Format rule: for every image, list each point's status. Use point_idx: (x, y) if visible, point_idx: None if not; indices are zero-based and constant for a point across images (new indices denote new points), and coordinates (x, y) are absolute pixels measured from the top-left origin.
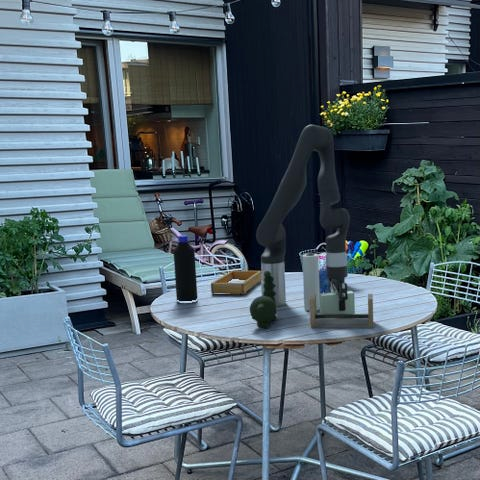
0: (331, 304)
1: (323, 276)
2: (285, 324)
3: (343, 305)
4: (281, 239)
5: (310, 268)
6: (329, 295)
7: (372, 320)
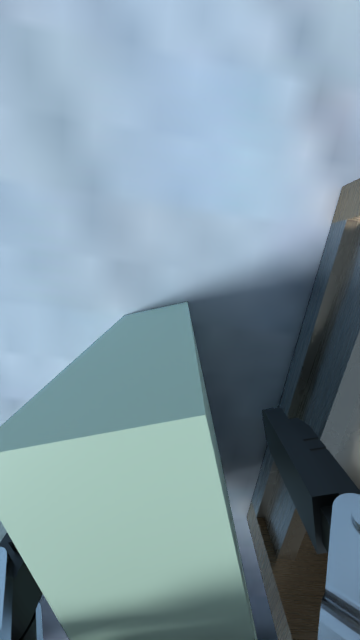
0: (236, 539)
1: None
2: (266, 603)
3: (327, 461)
4: None
5: None
6: None
7: None
